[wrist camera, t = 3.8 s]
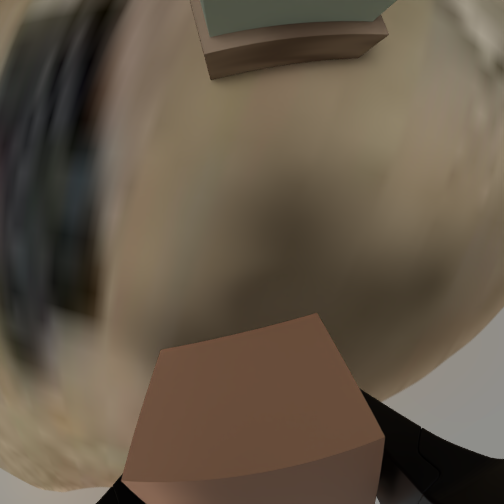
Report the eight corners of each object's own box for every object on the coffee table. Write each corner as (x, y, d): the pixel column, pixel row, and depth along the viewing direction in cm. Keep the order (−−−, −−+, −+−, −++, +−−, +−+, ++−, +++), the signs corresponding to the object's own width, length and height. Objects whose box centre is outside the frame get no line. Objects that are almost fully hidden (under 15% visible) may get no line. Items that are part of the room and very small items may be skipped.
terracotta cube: (316, 313, 9) (385, 436, 4) (332, 416, 10) (371, 519, 5) (160, 349, 9) (121, 481, 4) (210, 443, 10) (208, 548, 6)
